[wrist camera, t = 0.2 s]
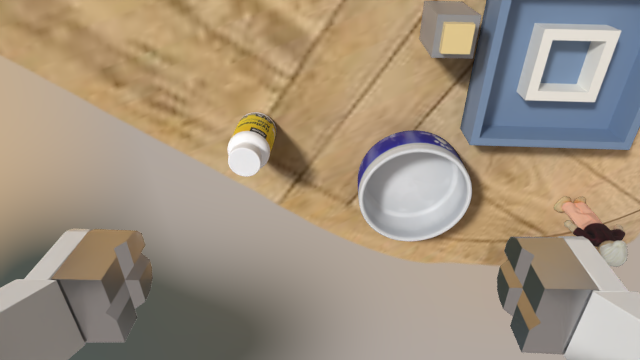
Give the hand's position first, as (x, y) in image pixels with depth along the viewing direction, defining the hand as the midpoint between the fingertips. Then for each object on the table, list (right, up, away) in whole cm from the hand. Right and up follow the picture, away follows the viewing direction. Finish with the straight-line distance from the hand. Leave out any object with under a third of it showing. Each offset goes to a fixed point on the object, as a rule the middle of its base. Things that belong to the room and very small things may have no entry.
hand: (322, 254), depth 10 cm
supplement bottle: (-9, +9, +51) cm, 52 cm away
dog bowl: (+13, +2, +54) cm, 56 cm away
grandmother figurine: (+38, -2, +55) cm, 67 cm away
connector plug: (+14, +21, +42) cm, 49 cm away
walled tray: (+29, +17, +44) cm, 55 cm away
